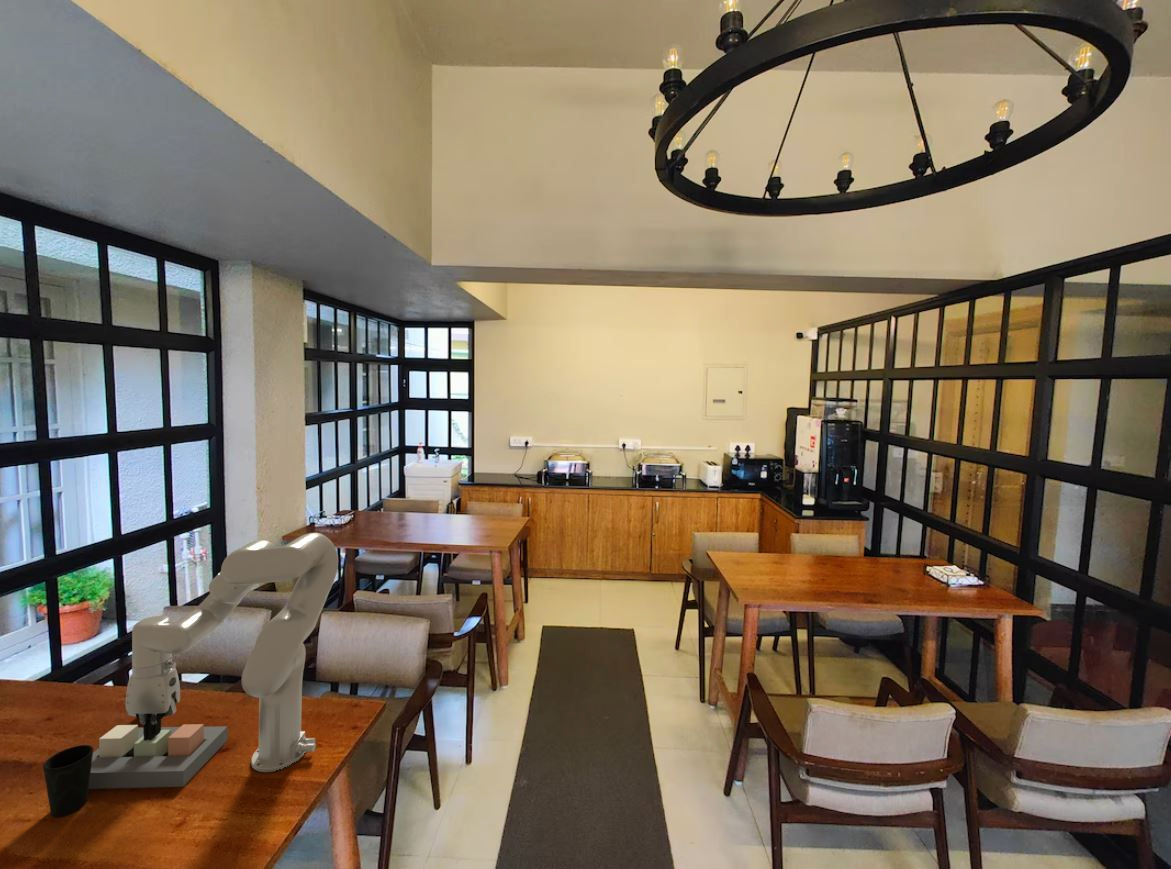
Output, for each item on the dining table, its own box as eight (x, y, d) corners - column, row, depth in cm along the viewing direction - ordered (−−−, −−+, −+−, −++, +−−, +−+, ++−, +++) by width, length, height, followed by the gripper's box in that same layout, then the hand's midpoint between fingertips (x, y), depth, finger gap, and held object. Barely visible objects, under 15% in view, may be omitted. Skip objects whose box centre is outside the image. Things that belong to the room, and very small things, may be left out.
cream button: (138, 743, 123) (138, 724, 123) (121, 757, 118) (120, 738, 118) (117, 743, 122) (117, 725, 122) (99, 757, 117) (99, 738, 117)
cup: (92, 788, 113) (91, 739, 112) (95, 806, 108) (95, 755, 107) (43, 808, 107) (42, 757, 106) (44, 828, 102) (43, 775, 101)
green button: (171, 747, 124) (171, 729, 123) (155, 762, 119) (155, 743, 118) (150, 748, 123) (150, 729, 123) (134, 762, 118) (134, 743, 118)
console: (227, 740, 130) (227, 726, 130) (183, 786, 114) (183, 770, 114) (125, 741, 128) (125, 727, 128) (66, 789, 112) (66, 773, 112)
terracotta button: (203, 742, 124) (203, 724, 124) (189, 756, 119) (189, 737, 119) (183, 742, 124) (183, 724, 124) (168, 756, 119) (168, 737, 119)
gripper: (194, 659, 124) (194, 726, 125) (133, 659, 123) (133, 726, 124) (172, 675, 117) (172, 746, 118) (107, 675, 115) (107, 747, 116)
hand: (152, 736), depth 121 cm, fingers closed
